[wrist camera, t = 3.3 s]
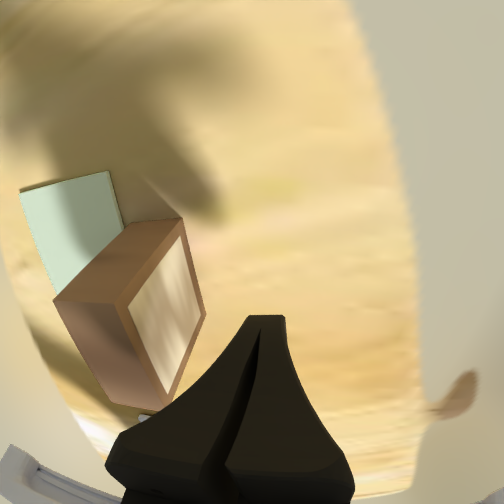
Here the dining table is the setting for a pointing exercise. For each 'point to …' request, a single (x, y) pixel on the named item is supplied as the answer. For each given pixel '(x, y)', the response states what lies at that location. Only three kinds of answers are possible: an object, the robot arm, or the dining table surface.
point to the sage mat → (72, 223)
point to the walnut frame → (137, 313)
